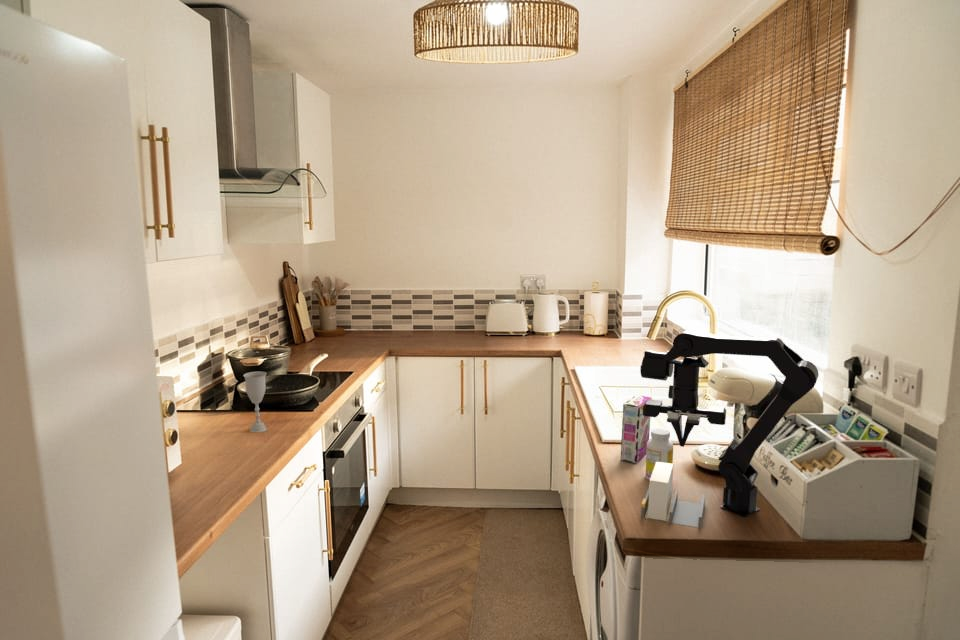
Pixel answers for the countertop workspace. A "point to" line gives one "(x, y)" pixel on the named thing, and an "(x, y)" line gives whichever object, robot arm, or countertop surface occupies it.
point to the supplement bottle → (658, 450)
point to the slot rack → (679, 511)
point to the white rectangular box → (660, 491)
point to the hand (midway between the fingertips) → (682, 446)
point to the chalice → (256, 395)
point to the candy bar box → (634, 430)
